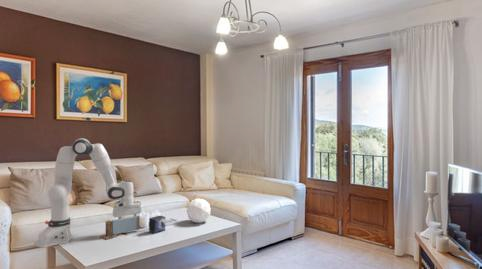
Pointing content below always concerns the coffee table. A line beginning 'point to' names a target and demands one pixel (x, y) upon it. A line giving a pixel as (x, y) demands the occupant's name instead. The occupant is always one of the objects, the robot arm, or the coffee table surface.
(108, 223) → the gate post
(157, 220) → the small box
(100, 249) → the coffee table surface
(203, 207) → the geometric orb
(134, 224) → the gate
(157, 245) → the coffee table surface
